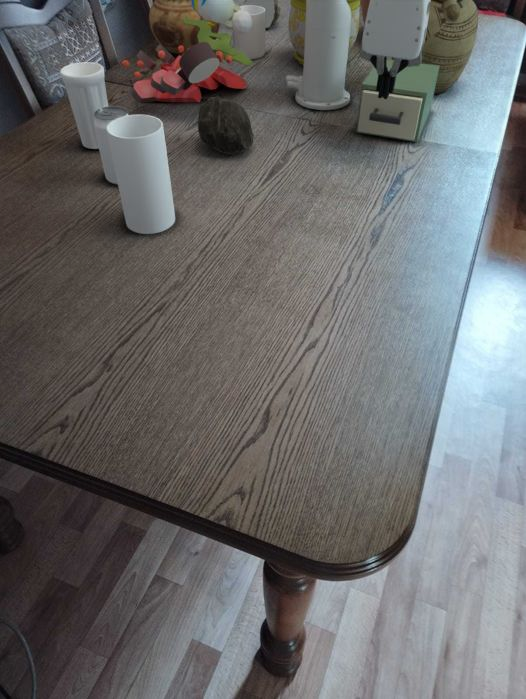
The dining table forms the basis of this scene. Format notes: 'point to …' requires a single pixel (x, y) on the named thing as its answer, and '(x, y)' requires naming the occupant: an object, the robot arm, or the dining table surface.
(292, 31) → the flowerpot
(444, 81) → the ceramic vessel
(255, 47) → the mug
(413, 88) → the cabinet
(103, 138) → the can
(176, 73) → the sushi set
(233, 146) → the rock
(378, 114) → the drawer
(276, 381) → the dining table surface
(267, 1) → the sculpture
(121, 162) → the cup
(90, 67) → the cup
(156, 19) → the clay pot
